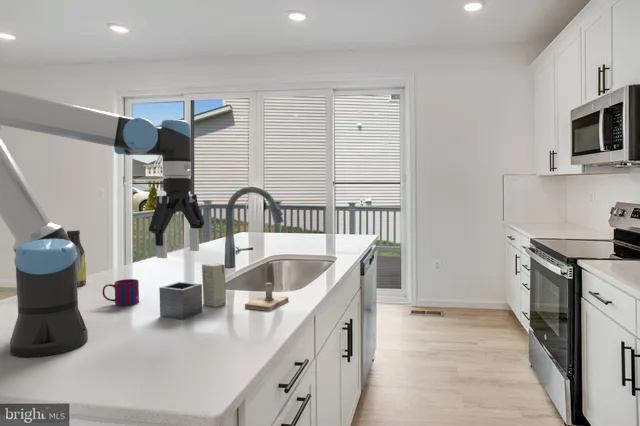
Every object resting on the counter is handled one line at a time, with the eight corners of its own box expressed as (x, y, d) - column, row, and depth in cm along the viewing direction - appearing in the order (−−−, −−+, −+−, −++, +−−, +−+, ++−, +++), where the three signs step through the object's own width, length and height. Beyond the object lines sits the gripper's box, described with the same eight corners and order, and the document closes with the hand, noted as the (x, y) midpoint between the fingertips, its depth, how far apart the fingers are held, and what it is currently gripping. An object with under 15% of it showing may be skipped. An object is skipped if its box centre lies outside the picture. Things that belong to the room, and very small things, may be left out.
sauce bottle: (90, 284, 166) (87, 230, 164) (72, 288, 160) (70, 231, 159) (79, 282, 169) (77, 229, 168) (62, 285, 164) (60, 230, 162)
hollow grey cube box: (183, 319, 122) (182, 290, 122) (160, 316, 126) (159, 287, 125) (202, 312, 130) (201, 284, 129) (179, 309, 133) (179, 281, 132)
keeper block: (268, 311, 130) (268, 289, 130) (244, 308, 133) (244, 287, 133) (288, 301, 141) (288, 281, 141) (265, 298, 144) (265, 279, 144)
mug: (137, 305, 137) (137, 282, 137) (101, 308, 135) (100, 285, 134) (140, 299, 144) (139, 278, 143) (105, 302, 141) (104, 280, 141)
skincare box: (226, 304, 137) (226, 264, 136) (214, 307, 134) (213, 266, 133) (214, 301, 142) (213, 261, 141) (202, 303, 139) (201, 263, 138)
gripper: (156, 176, 113) (158, 262, 114) (215, 177, 136) (216, 248, 137) (132, 177, 116) (134, 260, 117) (194, 178, 139) (195, 247, 140)
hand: (179, 254), depth 127 cm, fingers open, 13 cm apart
